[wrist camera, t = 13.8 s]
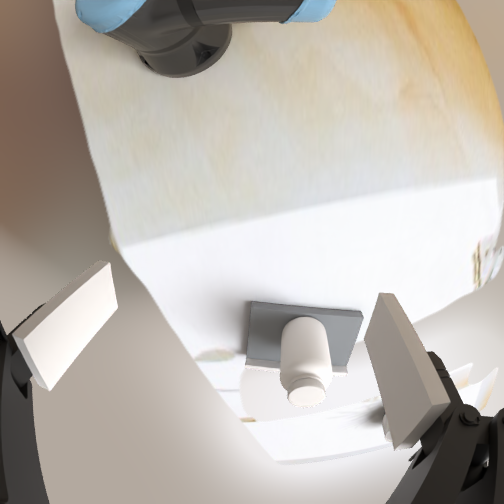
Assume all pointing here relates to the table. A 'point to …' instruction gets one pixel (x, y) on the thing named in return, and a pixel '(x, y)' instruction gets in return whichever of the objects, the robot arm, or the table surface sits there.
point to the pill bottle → (305, 362)
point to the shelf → (278, 316)
